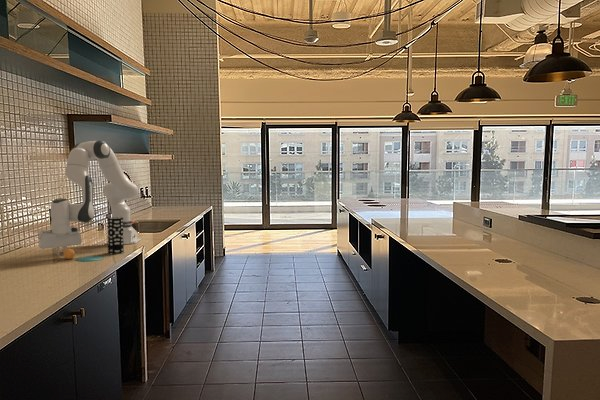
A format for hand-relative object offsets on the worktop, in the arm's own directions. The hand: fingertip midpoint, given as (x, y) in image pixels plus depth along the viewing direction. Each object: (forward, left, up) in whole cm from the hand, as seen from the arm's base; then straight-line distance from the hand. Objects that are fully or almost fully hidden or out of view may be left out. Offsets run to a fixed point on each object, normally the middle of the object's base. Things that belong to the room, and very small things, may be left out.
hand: (61, 254), depth 237 cm
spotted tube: (-18, +21, -2) cm, 28 cm away
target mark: (0, +16, -2) cm, 16 cm away
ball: (+2, +6, +1) cm, 6 cm away
